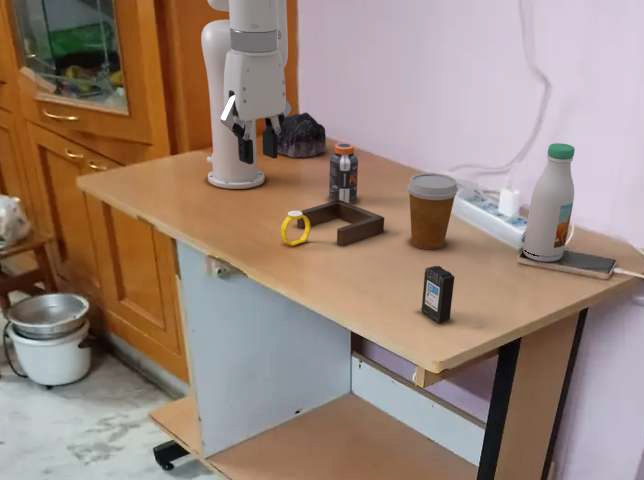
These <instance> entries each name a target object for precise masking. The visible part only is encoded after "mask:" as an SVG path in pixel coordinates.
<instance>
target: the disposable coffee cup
mask: <svg viewBox="0 0 644 480" xmlns="http://www.w3.org/2000/svg"><path fill="white" fill-rule="evenodd" d="M409 179H410V180H409V183H407V186H406V187H407V190H408V193H409V210H410V211H409V216H410V233H411V234H410V235H411V245H413V246H414V247H416V248H419V249H423V250H437V249H441V248H442V247H444V245H445V242H446V241H445V240H446V236H447V232H448V227H449V223H450V219H451V216H452V215H451V214H452V211H453V205H454V203H455V202H454V201H455V197H456V195H457V193H458V191H459V187H458V186H457V185H458V184H457V180H456V179H455V178H454V177H451V176H449V175H446V174H441V173H433V172H432V173H431V172H429V173H428V172H427V173H426V172H425V173H419V174H418V173H417V174H415V175H413V176H411V177H410V178H409Z"/></svg>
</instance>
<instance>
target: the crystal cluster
mask: <svg viewBox="0 0 644 480" xmlns="http://www.w3.org/2000/svg"><path fill="white" fill-rule="evenodd" d="M326 140H327V135H326V128H325V127H324V126H323V124H321V123H319V122H318V121H316V119H315V118H314V117H313V116H311V114H309V112H306V111H305V112H302V113H295V114H292V115H287V116H286V118H285V120H284V122H283V123H282V125H281V127H280V132H279V133H278V134H277V153H279V154H281V155H284V156H288V157H290V158H294V159H295V158H308V157H309V158H310V157H313V156H316V155H319V154H322V153H325V151H326V147H327V146H326V145H327V141H326Z"/></svg>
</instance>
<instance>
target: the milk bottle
mask: <svg viewBox="0 0 644 480" xmlns="http://www.w3.org/2000/svg"><path fill="white" fill-rule="evenodd" d="M575 149H576V148H575V147H574V146H573V145H571V144H567V143H561V142H560V143H559V142H557V143H556V142H555V143H551V144H549V145H548V149H547V155H546V158H547V162H546V165H545V167H544V170H543V171H542V172H541V174H540V176H539V177H538V179H537V180H536V183H535V185H534V187H533V191H532V193H531V194H532V195H531V199H530V205H529V211H528V216H527V220H526V221H527V224H526V228H525V232H524V233H525V234H524V239H523V247H522V252H523V255H524V256H526V257H527V258H528V259H531V260H533V261H534V260H535V261H538V262H548V263H549V262H556V261H559V260H561V259H562V257H563V256H564V253H565V248H566V242H567V237H568V233H569V227H570V222H571V217H572V212H573V206H574V200H575V185H574V181H573V180H574V179H573V177H572V176H573V175H572V169H571V168H572V167H571V166H572V165H571V164H572V162H573V160H574V157H575V156H574V155H575ZM524 250H526V251H527V252H529V253H531V254H535V255H541V256H542V255H544V256H553V255H558V254H561V253H563V252H564V253H563V254H562V255H561V256H559V257H554V258H543V257H537V256H533V255H531V254H528V253H527V252H525V251H524Z"/></svg>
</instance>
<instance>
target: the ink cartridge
mask: <svg viewBox="0 0 644 480" xmlns="http://www.w3.org/2000/svg"><path fill="white" fill-rule="evenodd" d="M423 276H424V277H423V290H422V302H421V308H420V310H421V313H422V314H423V315H425V316H427V317H428V318H429V319H431V320H432V321H434V322H435V323H437V324H439V323H442V322H446V321H450V319H451V311H452V303H453V302H452V301H453V294H454V285H455V276H454V275H453V274H452V272H450V271H449V270H447V269H444V268H443V267H442V266H440V265H434V266H429V267H426V268H425V270H424V275H423Z"/></svg>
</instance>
